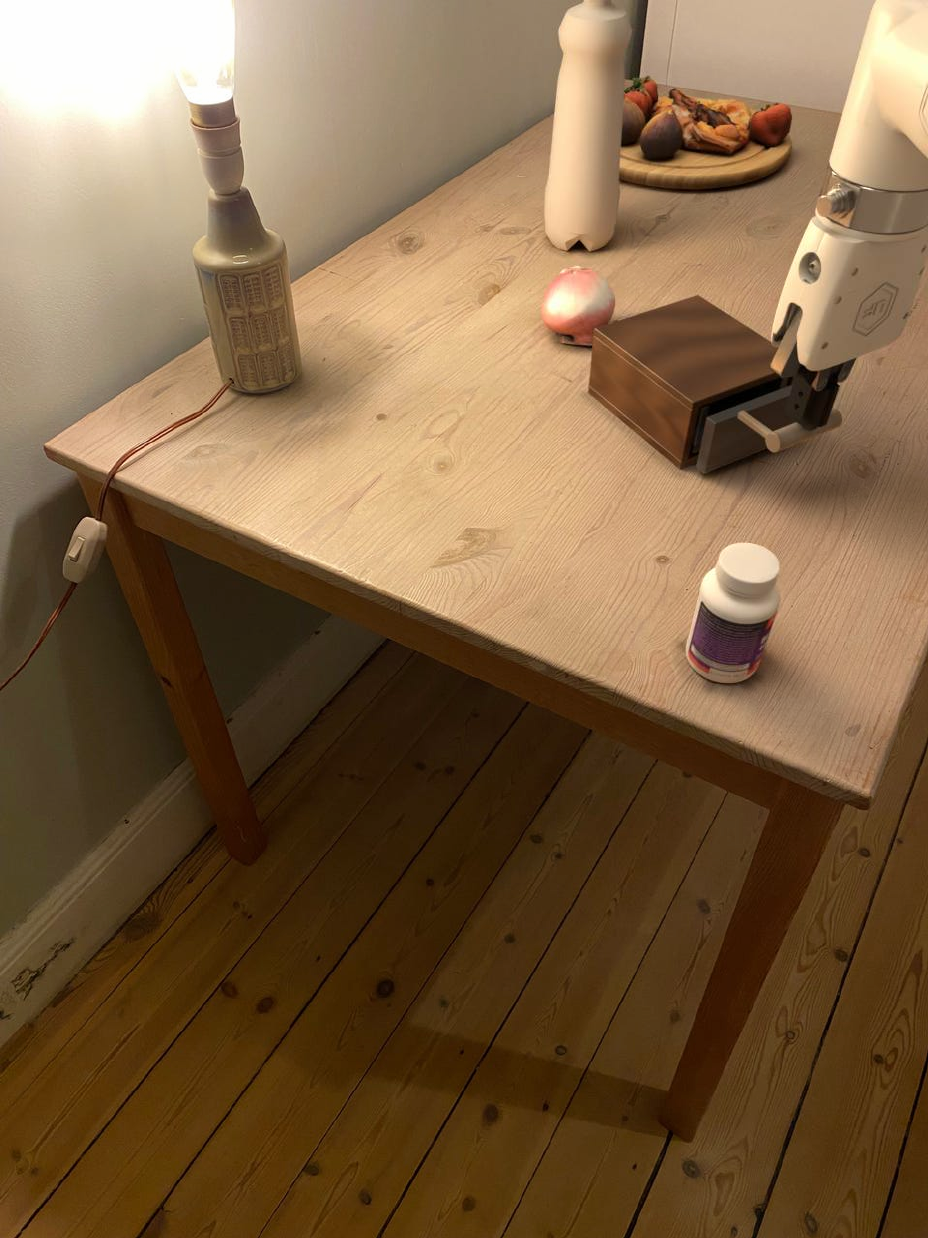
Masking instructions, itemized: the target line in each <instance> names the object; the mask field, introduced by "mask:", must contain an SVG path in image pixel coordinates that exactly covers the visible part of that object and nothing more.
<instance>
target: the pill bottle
mask: <svg viewBox="0 0 928 1238" xmlns="http://www.w3.org/2000/svg"><path fill="white" fill-rule="evenodd" d="M780 571H781V563H780V561H779V559H778V557H777V556H776V555H775V554H774V552H772V551H771V550H769V549H768V548H766V547H764V546H762V545H761V544H756V543H751V542H736V543H732V544H730V545H728V546H726V547H725V548H723V549H722V551H721V552H720V553H719V557H718V559H717V562H716V565H715V567H713V568H712V569H710V570H709V571H708V572H707V573H706V574H704V577H703V579H702V581H701V584H700V586H699V590H698V594H697V598H696V603H695V607H694V610H693V614H692V617H691V623H690V627H689V630H688V635H687V638H686V644H685V656H686V660H687V662H688V663H689V666H691V668H692V669H693V670H694V671H695V672H696V673H697V674H699V675H700V676H701V677H703V678H704V679H707V680H709V681H712V682H716V683H720V684H735V683H739V682H743V681H746V680H747V679H749V678H750V677H751V676H753V675H754V674H755V672H756V671H758V668H759V666H760V663H761V660H762V657H763V655H764V651H765V649H766V646H767V643H768V640H769V637H770V634H771V631H772V628H773V625H774V622H775V619H776V616H777V613H778V611H779V608H780V603H781V592H780V587H779V586H778V584H777V582H778V577H779V574H780Z"/></svg>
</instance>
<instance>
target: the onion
mask: <svg viewBox="0 0 928 1238" xmlns="http://www.w3.org/2000/svg"><path fill="white" fill-rule="evenodd" d="M615 307H616V297H615V294H614V291H613V289H612V287H611V285H610V284H609V282H608V281H607V280H606V278H605V277H604V276H603V275H602V274H600V272H597V271H595V270H592V269H590V268H587V267H584V266H581V265H574V266H571V267H568V268H564V269H562V270H561V271H560V272H559V274H558V276H556V277H555V278H554V279H553V280H552V281H551V282H550V283H549V284H548V286H547V287H546V290H545V292H544V295H543V298H542V303H541V309H540V312H541V313H540V314H541V320H542V323H544V325H545V327H547V328H548V329H549V330H551V331H552V332H554V333H555V334H556V335H557V337H558V340H559V341H560V343H561V344H565V345H566V344H568V345H579V346H589V347H590V346H591V347H593V337H594V329H595V328H597V327H600V326H603V325H606V324H609V323H610V321H611V319H612V317H613V315H614V312H615ZM615 321H618V319H616V320H615ZM615 321H613V322H615Z"/></svg>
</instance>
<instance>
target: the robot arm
mask: <svg viewBox="0 0 928 1238" xmlns="http://www.w3.org/2000/svg"><path fill="white" fill-rule="evenodd" d="M831 149H832V150H831V153H830V156H829V160H828V163H827V167H826V171H825V174H824V178H823V182H822V185H821V189H820V192H819V196H818V199H817V202H816V207H815V211H814V212H815V215H814V216H813V217H811V218H810V221H809V223H808V225H807V227H806V229H805V231H804V234H803V236H802V239H801V241H800V243H799V245H798V247H797V250H796V252H795V255H794V258H793V260H792V263H791V265H790V268H789V271H788V274H787V276H786V279H785V282H784V284H783V287H782V290H781V294H780V298H779V300H778V304H777V307H776V311H775V315H774V319H773V323H772V328H771V335H770V342H771V343H772V345H773V346H775V347H779V348H778V350H777V352H776V354H775V357H774V359H773V361H772V363H771V366H770V369H771V370H772V371H773V372H775V373H776V374H778V375H779V376H781V377H783V378H785V377H795V379H794V383H793V386H792V389H791V392H790V396H789V399H788V402H787V406H786V409H785V412H786V414H787V415H788V416H789V417H790V418H792V419H793V420H794V421H796V422H797V423H798V424H800V425H801V426H803V427H804V428H805V429H807V430H808V431H812V430H815V429H817V427H822V426H825V425H826V424H827V422H828V419H829V416H830V413H831V410H832V408H834V404H835V403H836V399H837V396H838V393H839V390H840V388H841V385H840V384H842V383H843V382H845V381H846V380H847V379H848V378H849V376H850V373H851V372H852V369H853V367H854V366H855V363H856V362H857V361H856V360H857V359H858V358H859V357H862V356H864V355H868V354H869V353H873V352H874V351H878V350H880V349H882V348H884V347H886V346H889V345H891V344H892V343H895V341H896V340H898V339H899V338H900V337H901V335H902V333H903V332H904V329H905V327H906V325H907V322H908V320H909V317H910V314H911V311H912V308H913V305H914V302H915V300H916V297H917V293H918V291H919V288H920V284H921V281H922V277H923V275H924V271H925V267H926V264H927V261H928V0H875V1H874V3H873V6H872V8H871V11H870V13H869V17H868V20H867V24H866V27H865V31H864V34H863V38H862V42H861V45H860V49H859V53H858V56H857V59H856V64H855V66H854V71H853V74H852V78H851V81H850V85H849V88H848V92H847V97H846V99H845V103H844V106H843V110H842V113H841V117H840V121H839V124H838V128H837V131H836V135H835V138H834V142H833V146H832V148H831Z"/></svg>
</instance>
